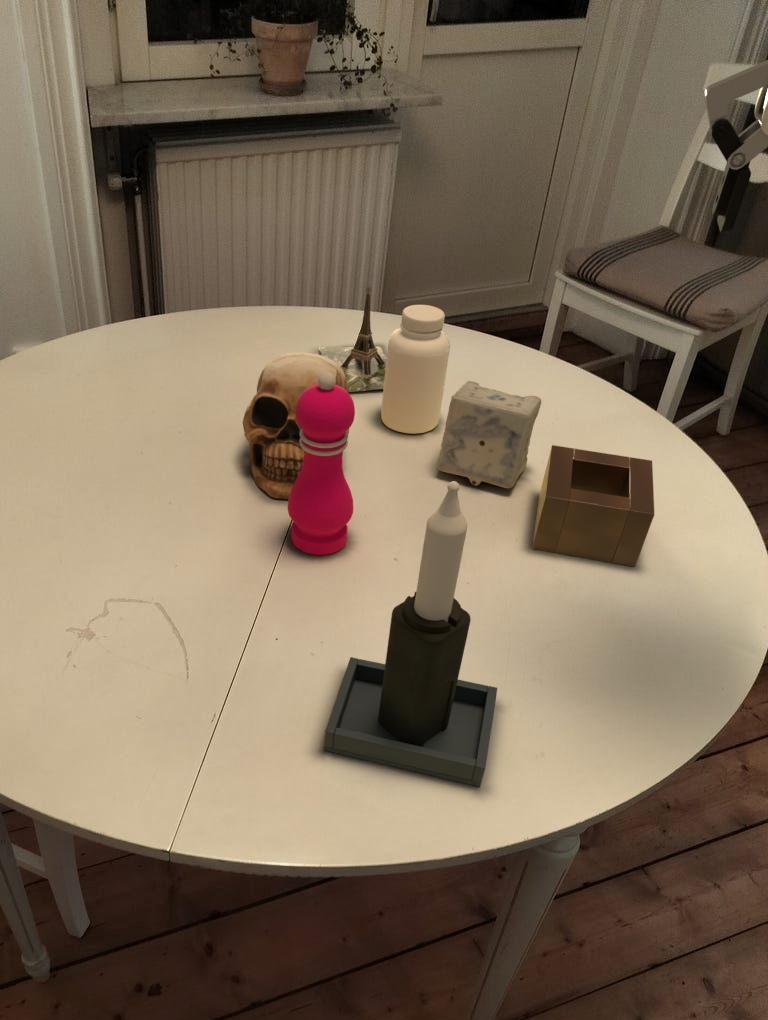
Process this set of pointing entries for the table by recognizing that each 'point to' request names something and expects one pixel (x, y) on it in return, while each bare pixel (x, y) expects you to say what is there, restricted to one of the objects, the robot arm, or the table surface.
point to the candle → (428, 635)
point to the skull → (282, 418)
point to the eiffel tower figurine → (360, 357)
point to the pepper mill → (322, 469)
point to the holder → (594, 505)
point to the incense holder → (487, 435)
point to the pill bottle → (415, 371)
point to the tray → (441, 756)
